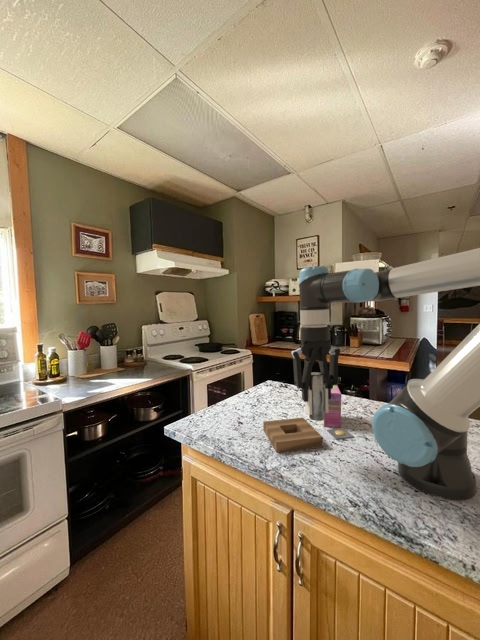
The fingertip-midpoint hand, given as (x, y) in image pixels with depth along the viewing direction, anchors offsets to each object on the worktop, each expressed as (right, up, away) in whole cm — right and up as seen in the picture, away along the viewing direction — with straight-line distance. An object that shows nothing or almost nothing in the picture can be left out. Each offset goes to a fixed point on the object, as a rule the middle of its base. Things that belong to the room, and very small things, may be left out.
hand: (316, 411), depth 76 cm
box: (+11, -11, +23) cm, 28 cm away
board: (-5, -12, +12) cm, 17 cm away
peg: (0, -2, 0) cm, 2 cm away
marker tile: (+11, -11, +13) cm, 21 cm away
